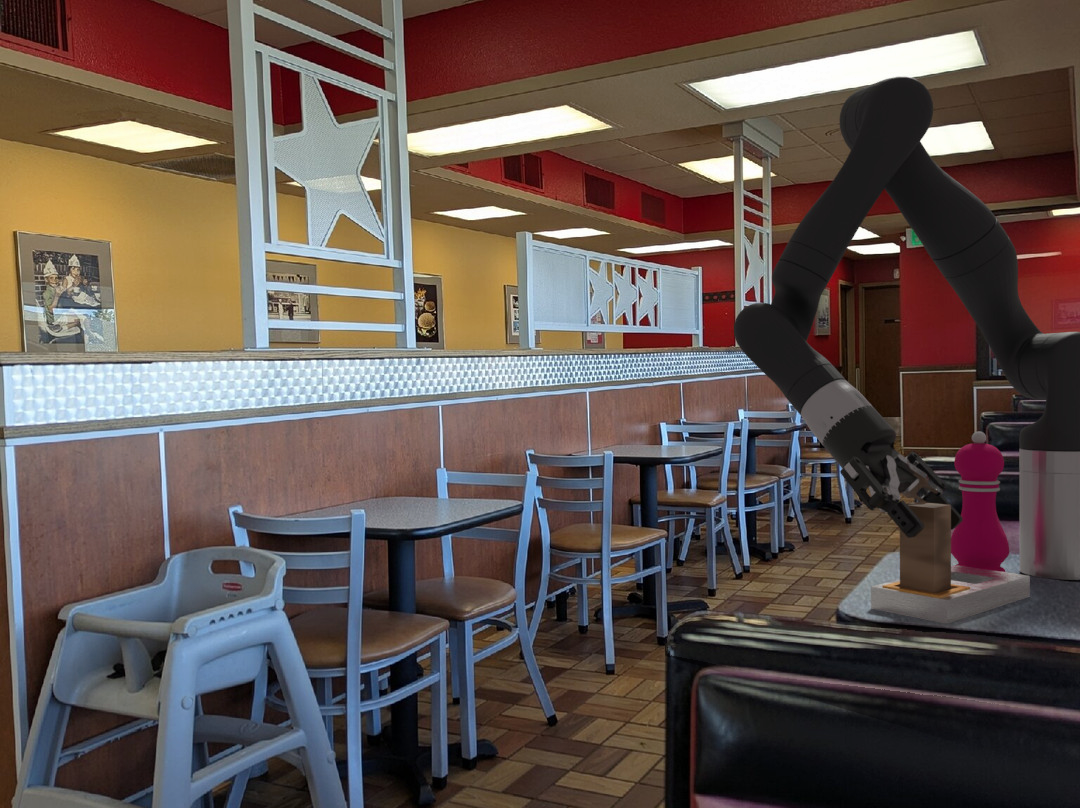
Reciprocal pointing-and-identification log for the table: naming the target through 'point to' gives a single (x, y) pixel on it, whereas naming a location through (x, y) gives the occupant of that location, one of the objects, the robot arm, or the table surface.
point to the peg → (927, 550)
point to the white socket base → (953, 595)
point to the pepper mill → (979, 507)
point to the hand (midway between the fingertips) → (937, 529)
